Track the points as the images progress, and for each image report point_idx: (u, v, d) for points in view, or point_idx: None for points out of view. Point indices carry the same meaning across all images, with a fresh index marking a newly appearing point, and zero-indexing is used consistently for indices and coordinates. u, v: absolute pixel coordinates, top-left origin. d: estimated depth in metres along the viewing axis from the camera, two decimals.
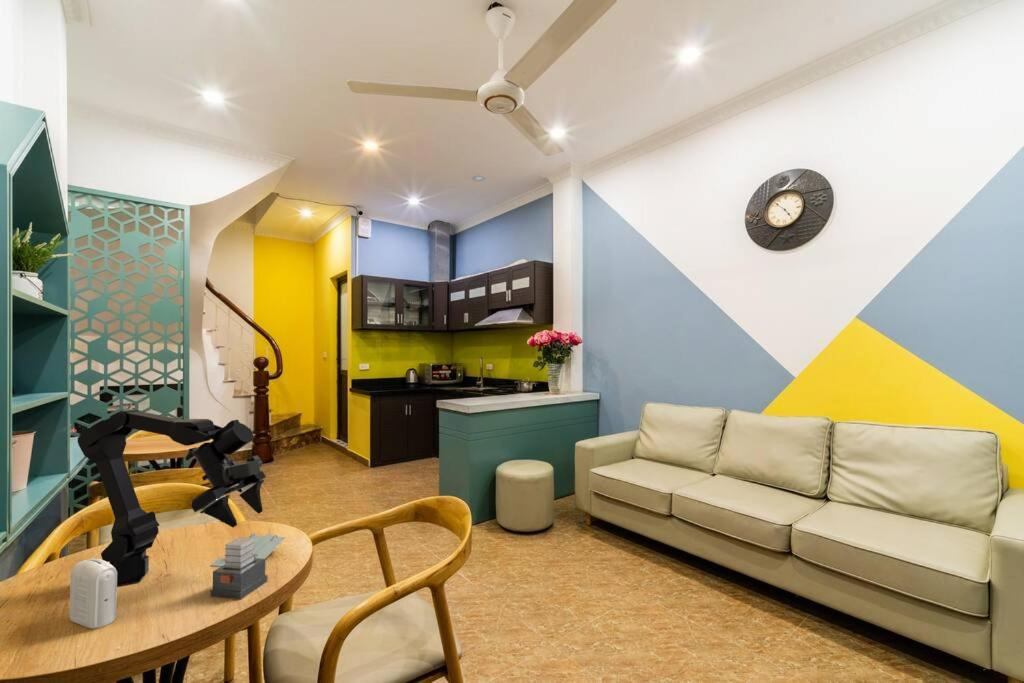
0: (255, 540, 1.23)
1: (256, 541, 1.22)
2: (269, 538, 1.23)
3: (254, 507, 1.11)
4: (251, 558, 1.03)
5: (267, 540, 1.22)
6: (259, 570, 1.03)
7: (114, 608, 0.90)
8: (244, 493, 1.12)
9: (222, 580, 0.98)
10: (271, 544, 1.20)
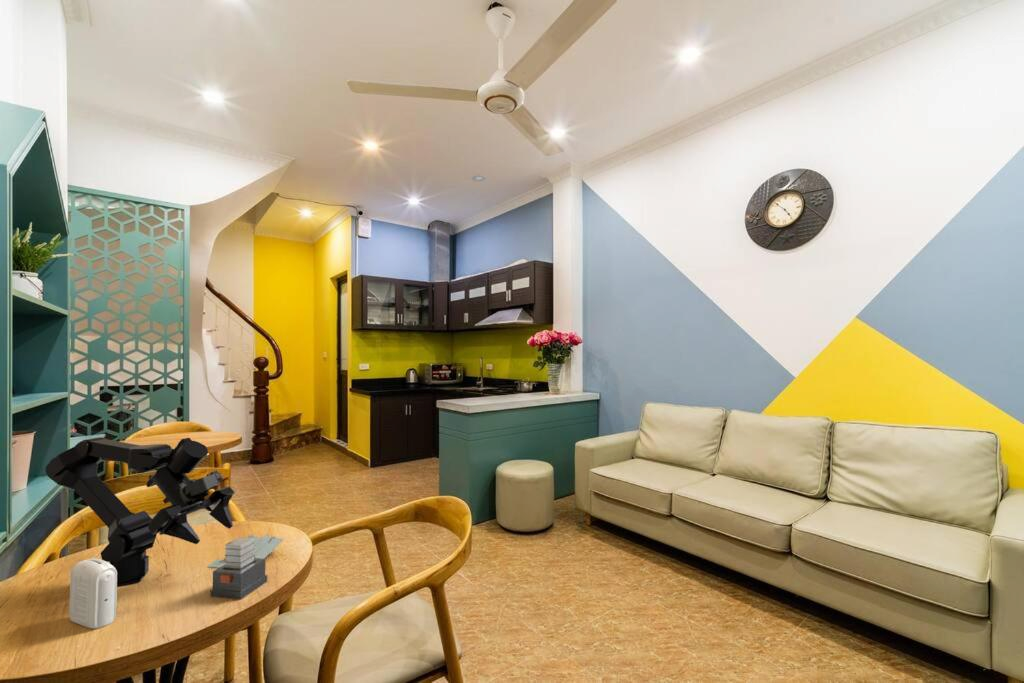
0: None
1: (254, 542, 1.22)
2: (267, 539, 1.22)
3: (224, 523, 1.09)
4: (251, 558, 1.03)
5: (265, 541, 1.22)
6: (259, 570, 1.03)
7: (114, 608, 0.90)
8: (213, 511, 1.10)
9: (222, 580, 0.98)
10: (269, 545, 1.19)
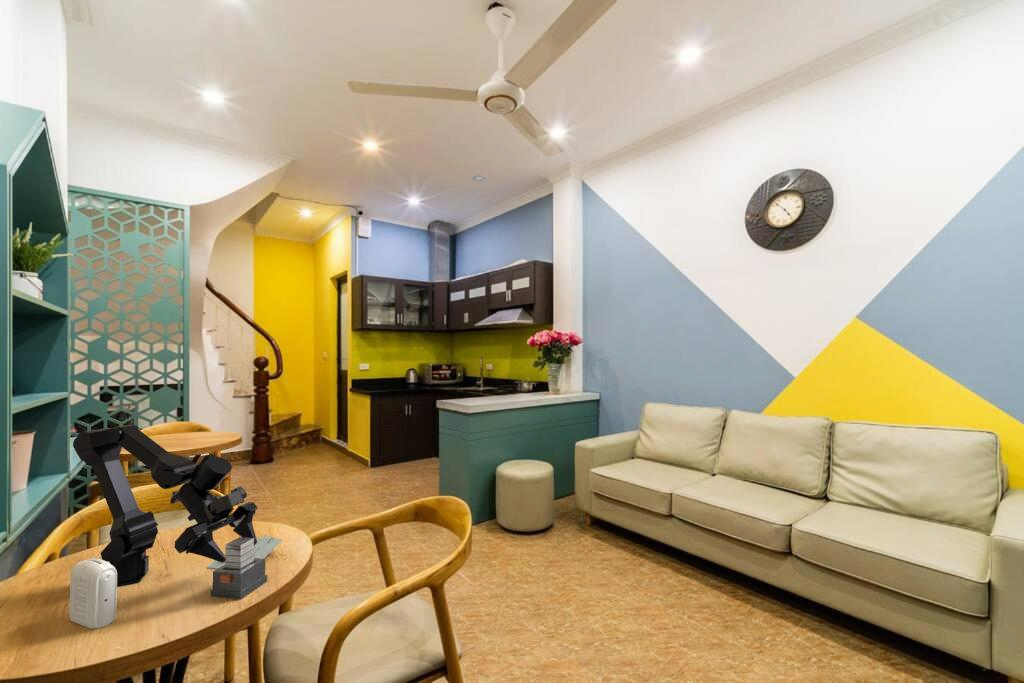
0: None
1: None
2: (266, 540, 1.22)
3: None
4: (251, 558, 1.03)
5: (264, 542, 1.21)
6: (259, 570, 1.03)
7: (114, 608, 0.90)
8: (237, 527, 1.08)
9: (222, 580, 0.98)
10: (268, 546, 1.19)
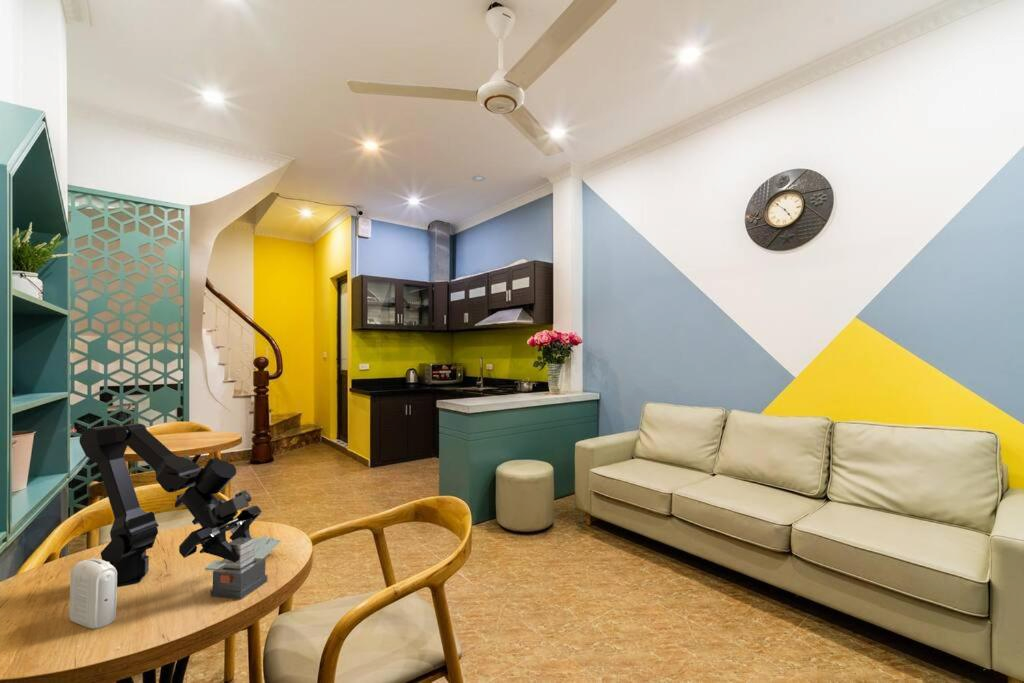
0: None
1: None
2: (265, 541, 1.21)
3: None
4: (251, 558, 1.03)
5: (263, 543, 1.21)
6: (259, 570, 1.03)
7: (114, 608, 0.90)
8: (233, 535, 1.06)
9: (222, 580, 0.98)
10: (267, 547, 1.18)
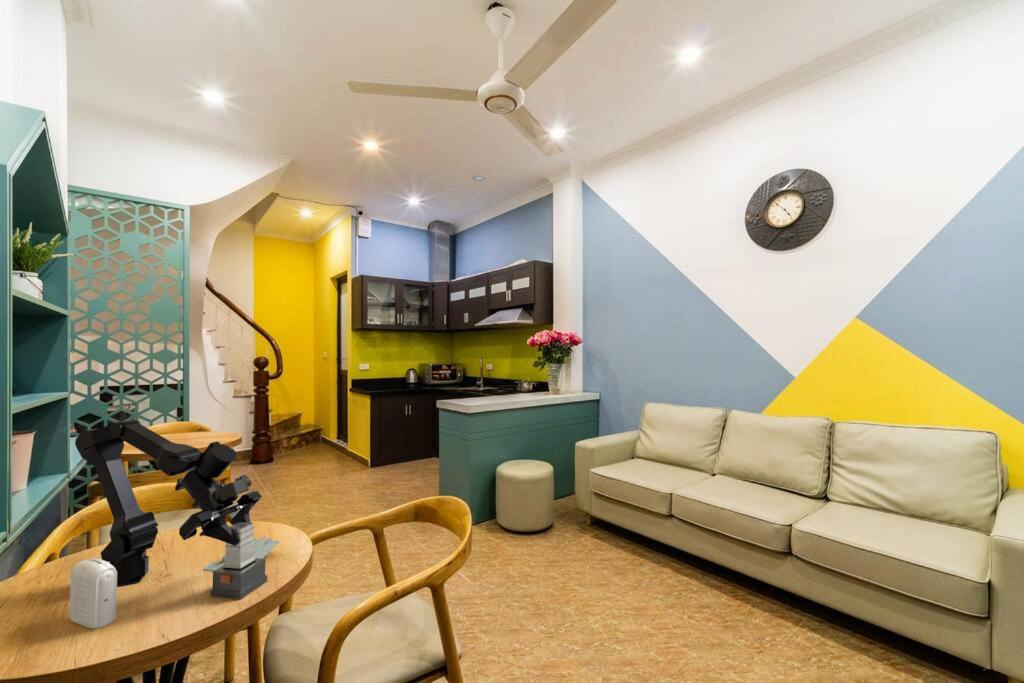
0: None
1: None
2: (263, 541, 1.21)
3: None
4: (251, 543, 1.03)
5: (261, 544, 1.20)
6: (259, 570, 1.03)
7: (114, 608, 0.90)
8: (233, 519, 1.06)
9: (222, 580, 0.98)
10: (265, 548, 1.17)
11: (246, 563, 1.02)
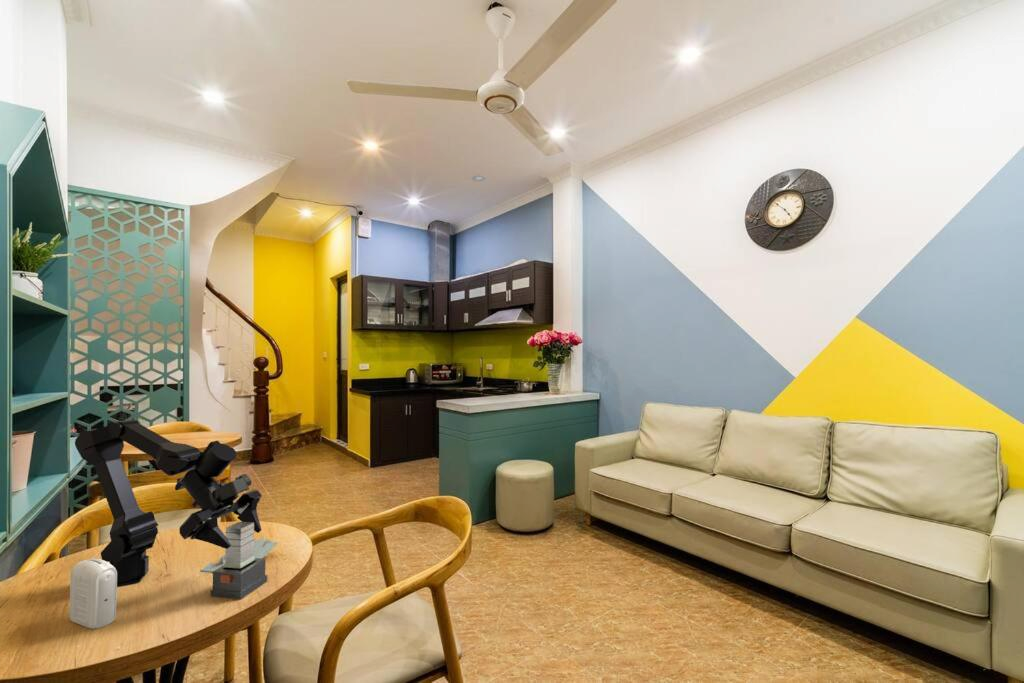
0: None
1: None
2: (262, 543, 1.20)
3: None
4: (251, 542, 1.03)
5: (259, 545, 1.19)
6: (259, 570, 1.03)
7: (114, 608, 0.90)
8: (241, 515, 1.08)
9: (222, 580, 0.98)
10: (263, 549, 1.17)
11: (246, 563, 1.02)
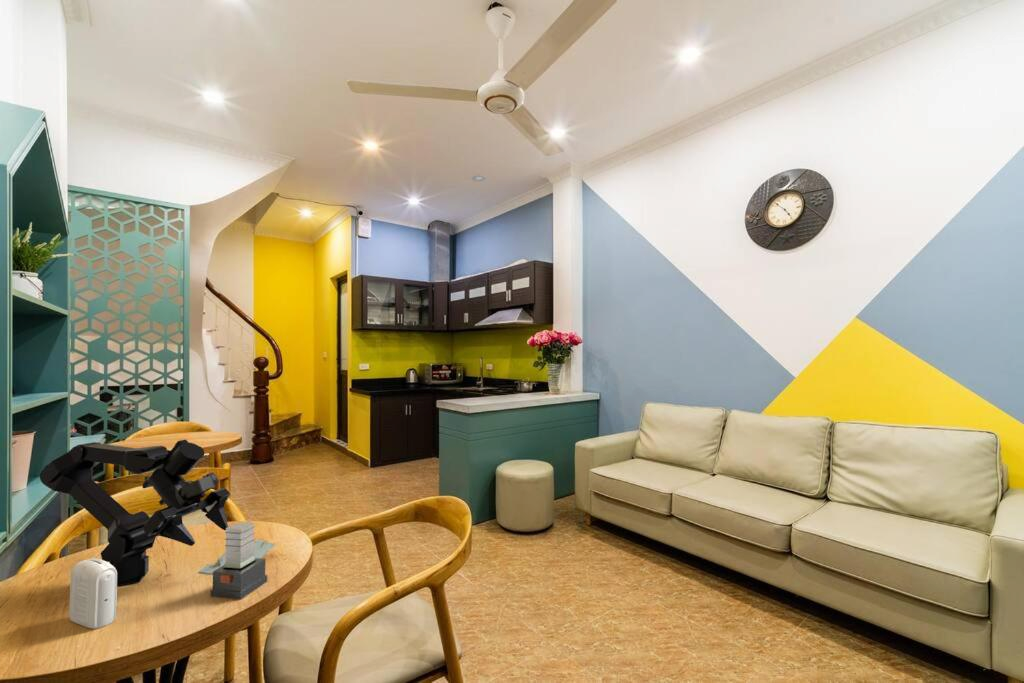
0: None
1: None
2: (259, 544, 1.19)
3: (219, 525, 1.09)
4: (251, 542, 1.03)
5: (257, 546, 1.19)
6: (259, 570, 1.03)
7: (114, 608, 0.90)
8: (209, 513, 1.10)
9: (222, 580, 0.98)
10: (261, 550, 1.16)
11: (246, 563, 1.02)
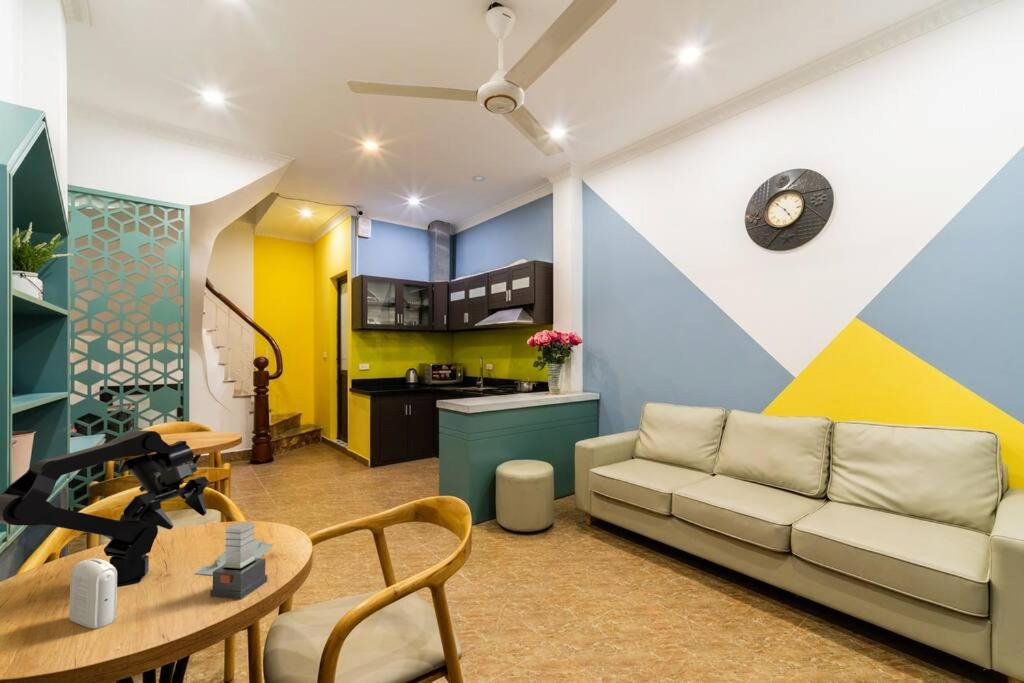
0: None
1: None
2: (257, 545, 1.19)
3: (198, 510, 1.14)
4: (251, 542, 1.03)
5: (254, 547, 1.18)
6: (259, 570, 1.03)
7: (114, 608, 0.90)
8: (188, 499, 1.15)
9: (222, 580, 0.98)
10: (258, 551, 1.16)
11: (246, 563, 1.02)
